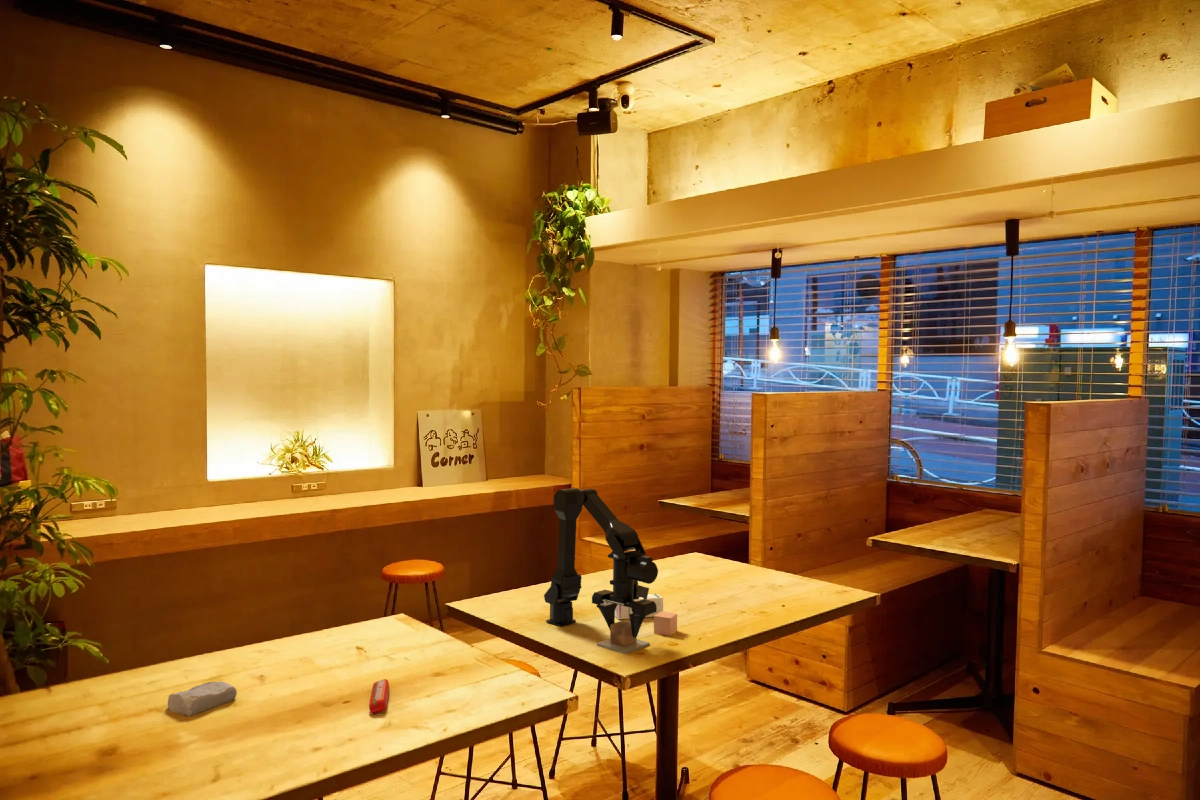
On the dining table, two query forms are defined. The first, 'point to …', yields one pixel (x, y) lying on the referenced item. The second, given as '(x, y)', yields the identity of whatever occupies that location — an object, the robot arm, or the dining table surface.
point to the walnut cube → (622, 634)
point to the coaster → (623, 649)
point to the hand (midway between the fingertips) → (623, 634)
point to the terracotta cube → (665, 623)
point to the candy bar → (379, 696)
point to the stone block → (201, 698)
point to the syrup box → (624, 611)
